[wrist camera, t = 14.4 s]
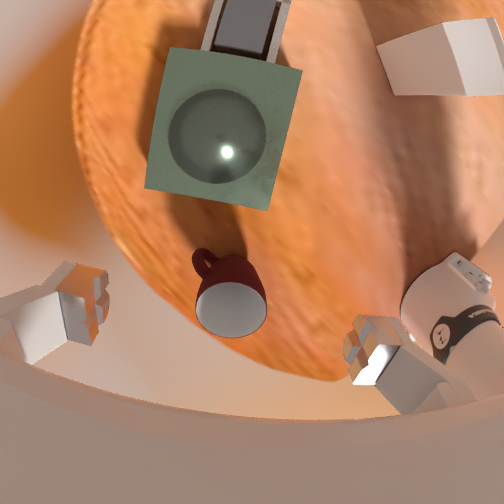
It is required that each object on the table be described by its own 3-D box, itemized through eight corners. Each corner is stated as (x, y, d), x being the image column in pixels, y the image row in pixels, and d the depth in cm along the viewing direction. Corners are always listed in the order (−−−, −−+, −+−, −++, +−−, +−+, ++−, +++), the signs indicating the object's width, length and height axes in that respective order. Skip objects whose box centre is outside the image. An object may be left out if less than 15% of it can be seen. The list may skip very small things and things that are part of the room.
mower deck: (311, 9, 26) (322, -7, 21) (264, 198, 37) (268, 213, 32) (199, -12, 25) (192, -31, 19) (156, 178, 36) (142, 190, 30)
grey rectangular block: (272, 13, 27) (277, -1, 22) (259, 60, 30) (262, 52, 25) (231, 5, 26) (230, -10, 22) (217, 52, 29) (214, 43, 25)
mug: (178, 260, 41) (162, 302, 32) (214, 218, 38) (206, 252, 29) (236, 301, 44) (235, 348, 35) (273, 265, 42) (282, 308, 33)
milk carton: (393, 95, 31) (496, 99, 14) (374, 46, 28) (469, 14, 11) (432, 86, 30) (535, 92, 13) (415, 40, 27) (513, 19, 10)
